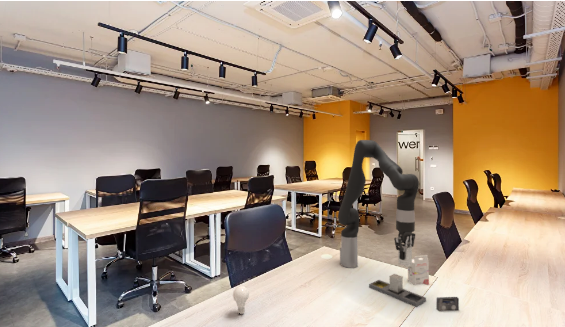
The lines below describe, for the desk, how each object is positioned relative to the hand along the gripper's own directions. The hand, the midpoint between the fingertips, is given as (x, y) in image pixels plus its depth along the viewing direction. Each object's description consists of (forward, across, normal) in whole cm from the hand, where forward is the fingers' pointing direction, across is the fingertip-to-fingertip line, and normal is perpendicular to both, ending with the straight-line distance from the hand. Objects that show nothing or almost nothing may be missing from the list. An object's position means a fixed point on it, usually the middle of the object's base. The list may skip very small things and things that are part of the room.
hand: (404, 258), depth 123 cm
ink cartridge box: (+19, -20, -4) cm, 27 cm away
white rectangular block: (+3, 0, 0) cm, 3 cm away
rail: (+18, 0, -4) cm, 19 cm away
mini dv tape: (+18, -4, +16) cm, 25 cm away
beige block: (+17, 0, -4) cm, 18 cm away
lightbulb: (+19, +62, -35) cm, 74 cm away
